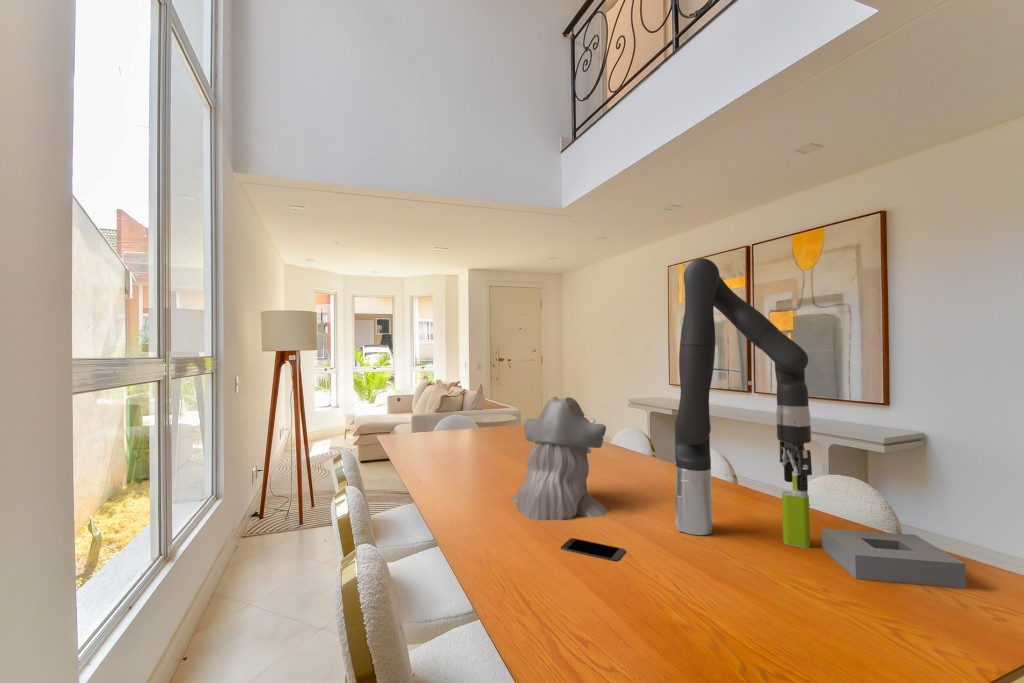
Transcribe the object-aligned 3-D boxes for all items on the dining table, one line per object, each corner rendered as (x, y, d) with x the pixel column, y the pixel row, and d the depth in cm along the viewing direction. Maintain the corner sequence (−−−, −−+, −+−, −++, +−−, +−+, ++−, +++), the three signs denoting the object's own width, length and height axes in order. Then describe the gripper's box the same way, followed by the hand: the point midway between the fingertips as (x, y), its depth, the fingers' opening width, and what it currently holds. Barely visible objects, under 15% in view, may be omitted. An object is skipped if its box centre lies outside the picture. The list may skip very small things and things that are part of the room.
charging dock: (855, 578, 98) (855, 555, 98) (822, 548, 113) (821, 528, 114) (966, 588, 93) (965, 563, 94) (915, 555, 109) (914, 534, 109)
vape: (811, 548, 113) (808, 468, 114) (783, 544, 116) (781, 465, 117) (810, 543, 116) (808, 465, 117) (783, 539, 119) (781, 462, 120)
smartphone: (618, 563, 106) (618, 559, 106) (559, 550, 113) (559, 546, 114) (627, 552, 112) (627, 548, 112) (570, 540, 120) (570, 537, 120)
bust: (624, 499, 155) (623, 396, 156) (585, 530, 126) (584, 404, 128) (538, 484, 173) (537, 392, 174) (486, 509, 144) (486, 399, 146)
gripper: (768, 419, 125) (770, 478, 125) (787, 426, 112) (790, 493, 111) (798, 419, 124) (800, 479, 123) (821, 427, 110) (824, 494, 109)
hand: (795, 486), depth 117 cm, fingers open, 8 cm apart
